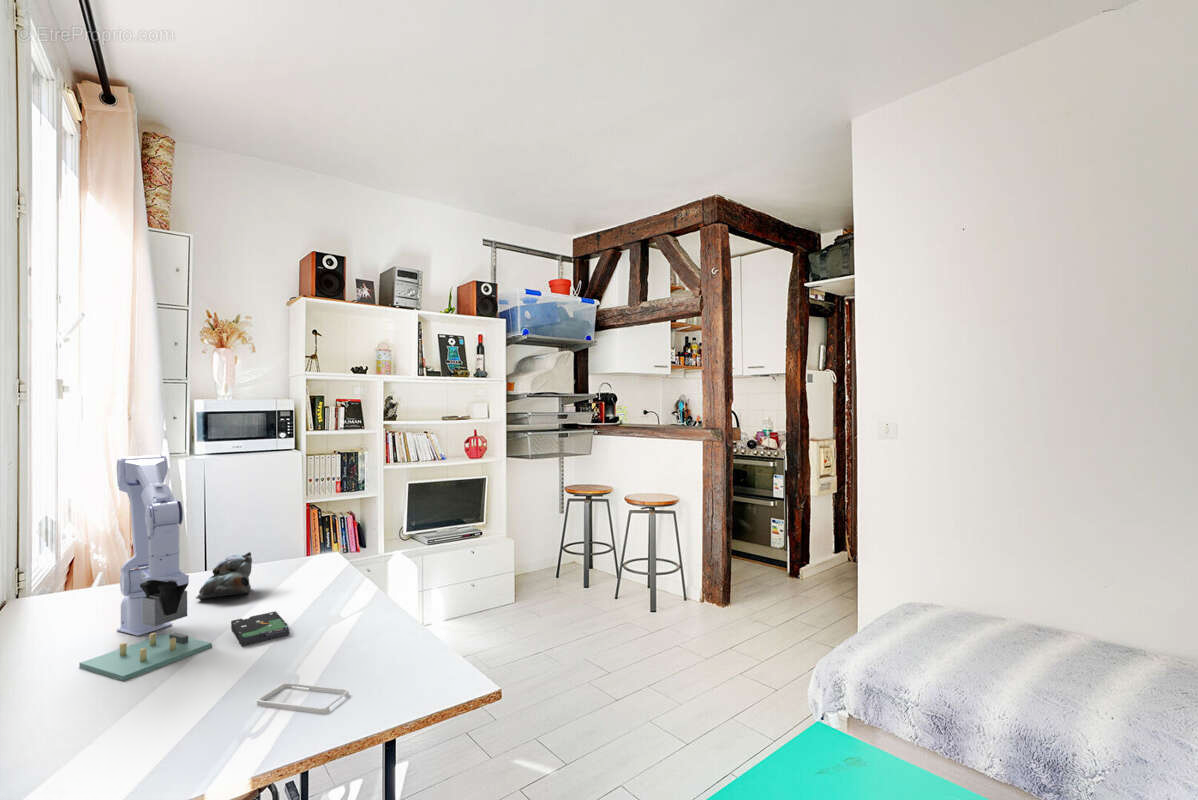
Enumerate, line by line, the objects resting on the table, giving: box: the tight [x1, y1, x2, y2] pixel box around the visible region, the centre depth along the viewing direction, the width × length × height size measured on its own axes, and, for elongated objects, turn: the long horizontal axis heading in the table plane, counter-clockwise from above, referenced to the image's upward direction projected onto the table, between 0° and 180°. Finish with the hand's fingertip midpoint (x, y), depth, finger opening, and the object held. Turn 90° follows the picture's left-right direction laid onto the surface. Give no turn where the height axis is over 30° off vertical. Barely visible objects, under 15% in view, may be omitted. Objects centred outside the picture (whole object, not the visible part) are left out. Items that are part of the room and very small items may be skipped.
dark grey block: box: [143, 589, 188, 627], centre depth 135 cm, size 4×7×6 cm, turn 157°
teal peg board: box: [78, 632, 213, 682], centre depth 130 cm, size 16×18×4 cm
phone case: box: [256, 682, 350, 714], centre depth 111 cm, size 7×1×15 cm
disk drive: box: [230, 611, 290, 648], centre depth 144 cm, size 10×3×15 cm
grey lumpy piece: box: [195, 551, 253, 601], centre depth 173 cm, size 15×12×14 cm
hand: (164, 612), depth 135 cm, fingers closed on dark grey block, 4 cm apart
